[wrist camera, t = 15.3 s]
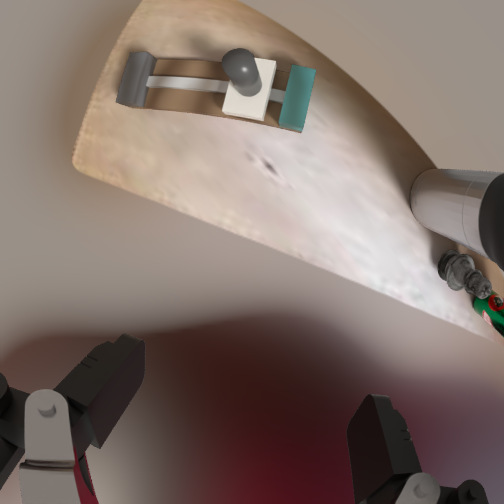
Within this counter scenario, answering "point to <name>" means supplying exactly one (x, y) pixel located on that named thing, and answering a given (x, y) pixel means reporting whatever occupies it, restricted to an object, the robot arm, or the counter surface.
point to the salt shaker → (463, 274)
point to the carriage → (247, 84)
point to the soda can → (491, 310)
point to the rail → (210, 89)
